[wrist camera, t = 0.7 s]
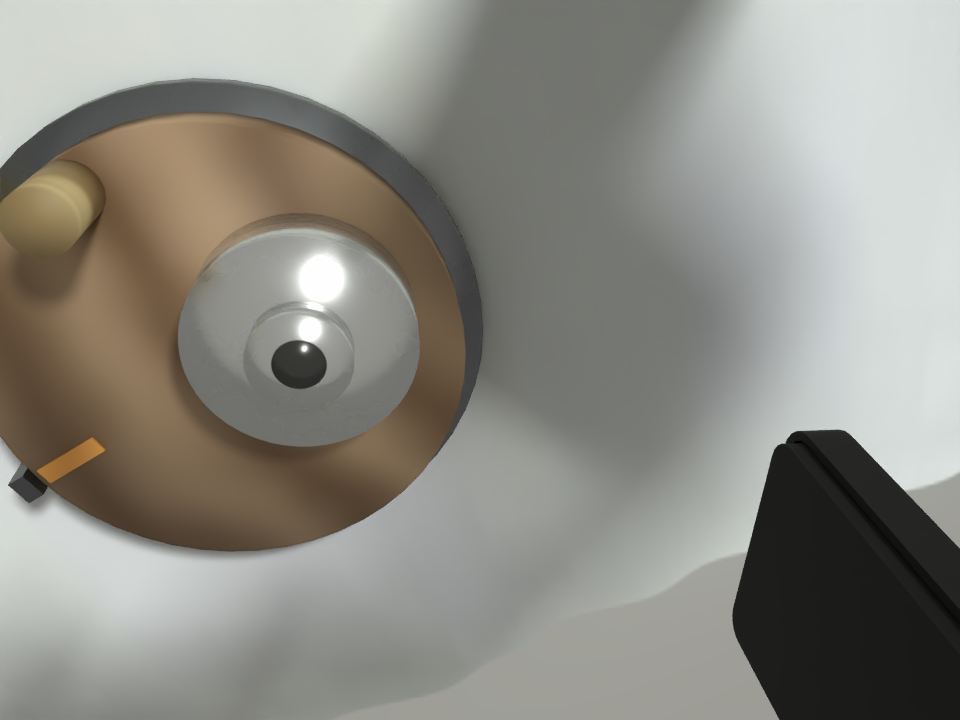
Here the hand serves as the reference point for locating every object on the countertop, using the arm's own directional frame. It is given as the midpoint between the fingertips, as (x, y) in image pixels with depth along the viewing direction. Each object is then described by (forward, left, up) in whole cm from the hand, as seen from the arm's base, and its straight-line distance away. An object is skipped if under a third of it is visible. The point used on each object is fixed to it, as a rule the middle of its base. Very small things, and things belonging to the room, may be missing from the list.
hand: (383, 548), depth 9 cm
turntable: (+11, +5, -25) cm, 28 cm away
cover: (+7, +5, -23) cm, 25 cm away
